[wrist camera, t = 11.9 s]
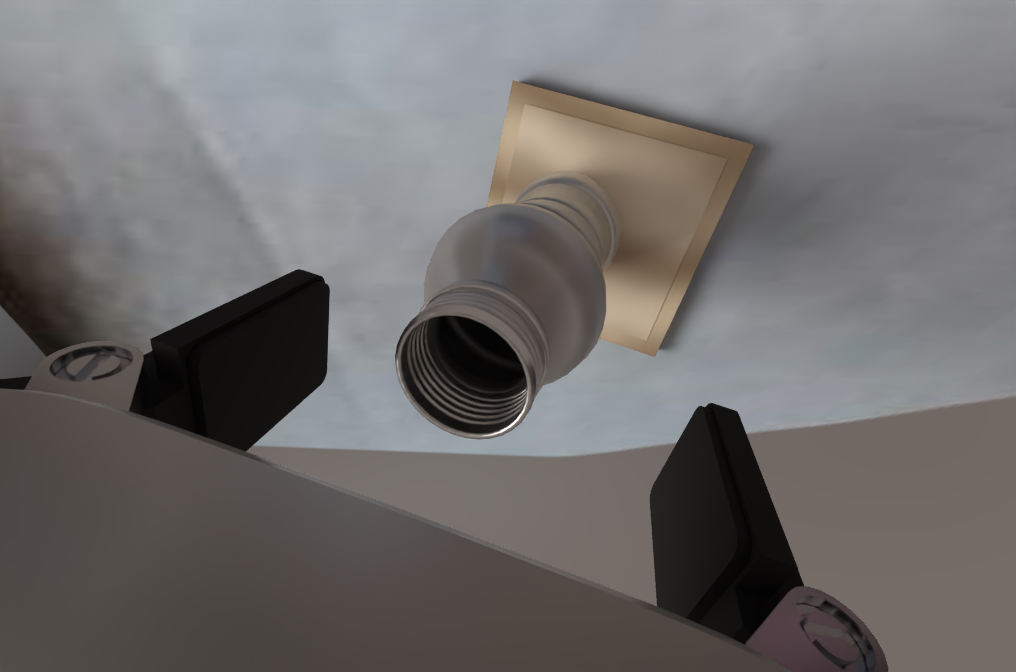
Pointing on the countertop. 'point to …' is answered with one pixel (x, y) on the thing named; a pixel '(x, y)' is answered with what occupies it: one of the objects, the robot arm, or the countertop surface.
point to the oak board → (627, 195)
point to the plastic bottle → (510, 305)
